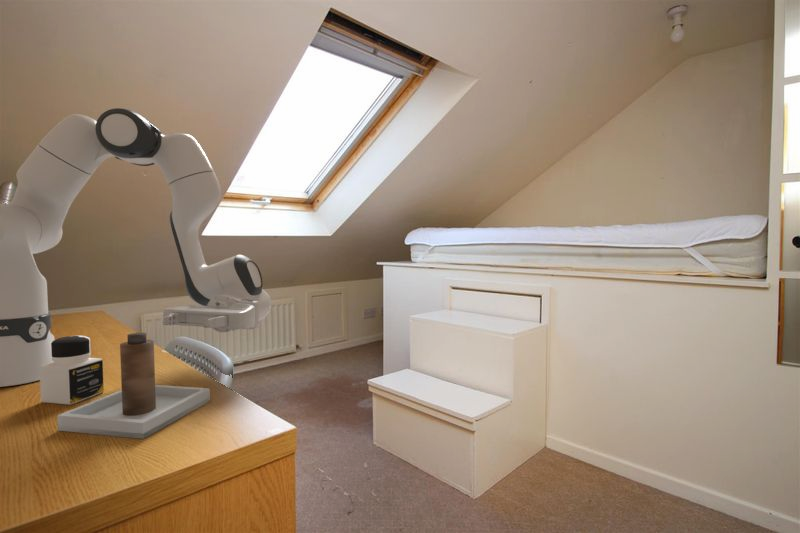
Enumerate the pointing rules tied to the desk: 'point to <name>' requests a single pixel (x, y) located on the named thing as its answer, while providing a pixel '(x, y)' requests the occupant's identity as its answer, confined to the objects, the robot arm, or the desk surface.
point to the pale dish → (110, 420)
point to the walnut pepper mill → (137, 375)
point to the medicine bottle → (71, 372)
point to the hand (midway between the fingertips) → (185, 322)
